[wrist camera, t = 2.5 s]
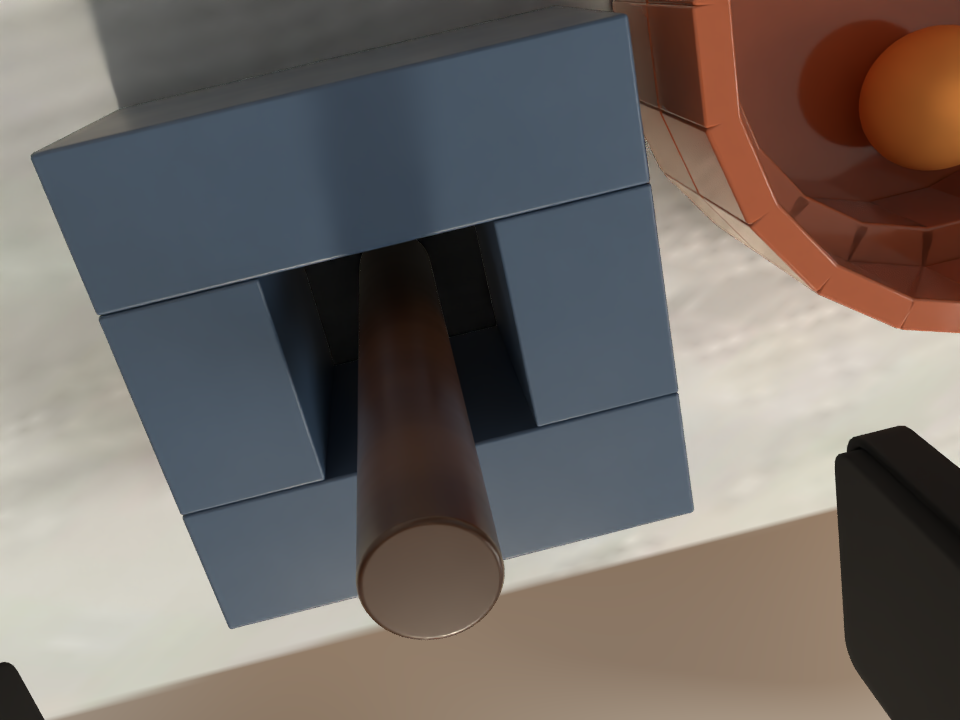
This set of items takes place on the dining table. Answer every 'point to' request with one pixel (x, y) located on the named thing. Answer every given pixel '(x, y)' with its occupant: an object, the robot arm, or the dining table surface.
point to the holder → (367, 226)
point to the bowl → (801, 145)
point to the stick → (417, 461)
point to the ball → (915, 100)
